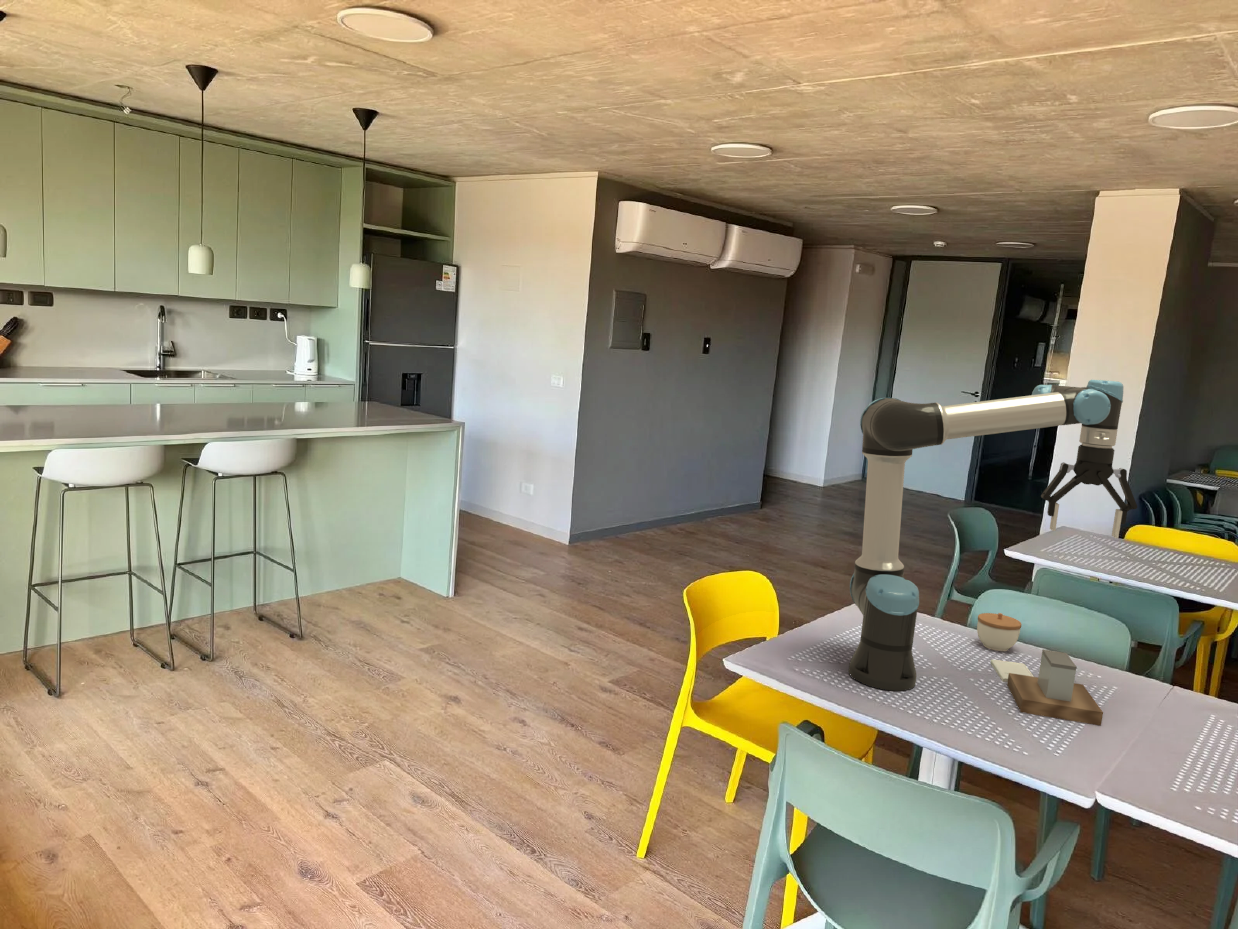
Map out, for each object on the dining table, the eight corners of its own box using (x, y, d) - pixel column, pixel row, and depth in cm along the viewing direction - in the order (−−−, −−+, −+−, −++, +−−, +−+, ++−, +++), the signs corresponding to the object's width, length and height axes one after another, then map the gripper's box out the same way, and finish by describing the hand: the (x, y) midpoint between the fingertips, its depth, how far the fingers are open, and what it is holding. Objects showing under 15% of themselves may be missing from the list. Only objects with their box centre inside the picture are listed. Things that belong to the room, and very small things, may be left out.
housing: (1046, 697, 188) (1051, 663, 187) (1037, 682, 197) (1042, 649, 196) (1070, 701, 187) (1076, 667, 186) (1061, 686, 196) (1066, 653, 194)
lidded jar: (965, 641, 231) (970, 608, 230) (993, 638, 235) (998, 606, 234) (997, 656, 221) (1002, 621, 220) (1026, 652, 226) (1031, 618, 225)
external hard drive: (1024, 670, 215) (1038, 689, 203) (989, 665, 216) (1002, 684, 204) (1025, 663, 214) (1039, 682, 202) (990, 659, 216) (1003, 677, 204)
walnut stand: (1020, 712, 187) (1022, 699, 186) (1007, 685, 202) (1008, 672, 202) (1100, 725, 183) (1103, 712, 182) (1080, 696, 198) (1082, 684, 198)
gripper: (1042, 442, 201) (1029, 529, 205) (1161, 452, 195) (1146, 543, 198) (1036, 439, 208) (1024, 523, 212) (1150, 449, 202) (1136, 536, 205)
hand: (1083, 533), depth 205 cm, fingers open, 13 cm apart
